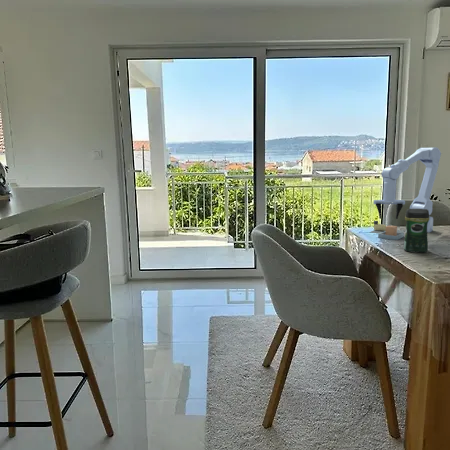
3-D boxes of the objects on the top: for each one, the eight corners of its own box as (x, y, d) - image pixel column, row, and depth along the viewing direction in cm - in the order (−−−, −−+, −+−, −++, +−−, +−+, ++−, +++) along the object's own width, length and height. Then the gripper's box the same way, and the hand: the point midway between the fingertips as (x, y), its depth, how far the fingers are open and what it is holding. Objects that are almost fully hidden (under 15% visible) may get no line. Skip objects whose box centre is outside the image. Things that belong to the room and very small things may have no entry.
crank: (391, 231, 208) (391, 222, 207) (389, 231, 206) (390, 222, 205) (374, 229, 214) (374, 220, 213) (372, 229, 212) (372, 221, 211)
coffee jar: (426, 249, 175) (429, 207, 172) (428, 253, 168) (431, 210, 165) (402, 247, 179) (405, 207, 175) (403, 252, 172) (405, 209, 168)
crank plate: (406, 233, 209) (406, 230, 209) (396, 237, 199) (397, 235, 198) (379, 230, 218) (379, 227, 218) (369, 234, 208) (369, 232, 208)
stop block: (396, 238, 195) (397, 226, 194) (393, 239, 192) (394, 227, 191) (388, 237, 198) (388, 225, 197) (385, 238, 195) (385, 226, 194)
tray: (403, 239, 196) (404, 233, 195) (397, 242, 189) (397, 236, 188) (385, 236, 202) (385, 230, 201) (377, 240, 195) (378, 234, 194)
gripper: (374, 192, 196) (373, 219, 199) (406, 192, 192) (405, 220, 195) (373, 191, 203) (372, 217, 205) (404, 190, 199) (403, 217, 201)
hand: (388, 218), depth 200 cm, fingers open, 7 cm apart
